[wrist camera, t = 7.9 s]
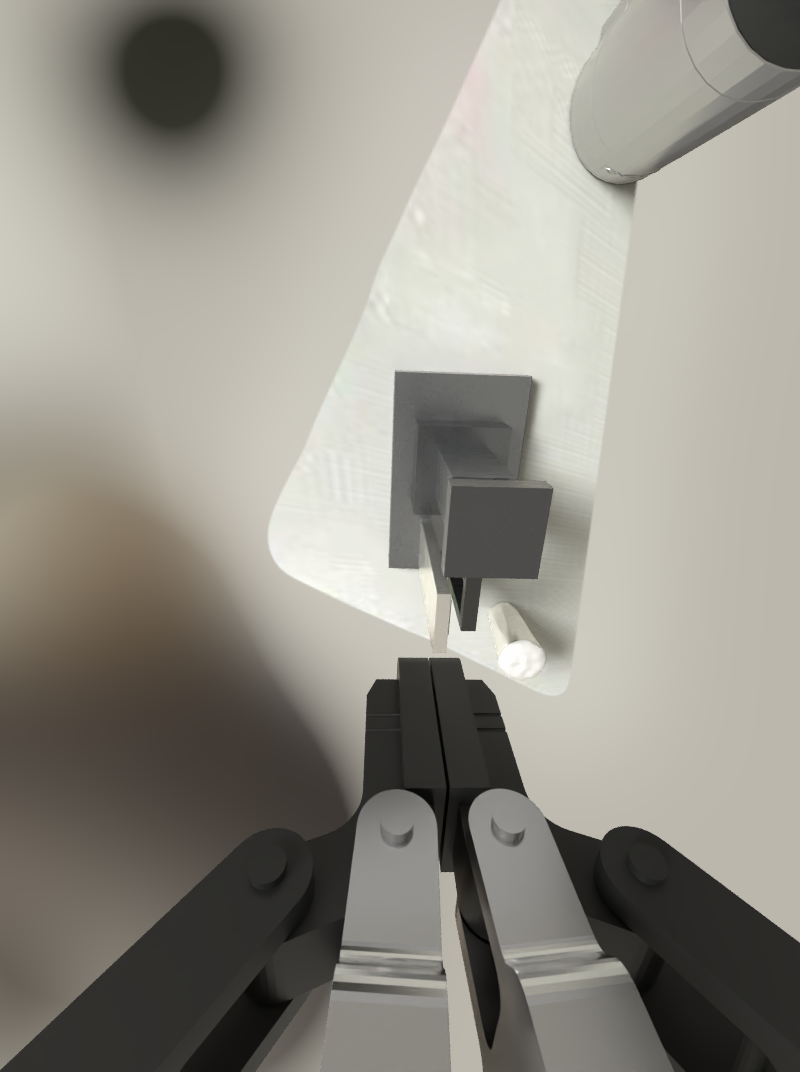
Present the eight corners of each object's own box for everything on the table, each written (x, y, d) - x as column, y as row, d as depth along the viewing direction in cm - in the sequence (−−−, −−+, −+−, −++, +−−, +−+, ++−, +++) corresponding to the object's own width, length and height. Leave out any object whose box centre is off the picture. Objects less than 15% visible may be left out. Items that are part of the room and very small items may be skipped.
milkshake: (531, 596, 51) (564, 653, 42) (513, 635, 53) (540, 697, 44) (493, 586, 51) (518, 641, 42) (476, 626, 53) (495, 687, 44)
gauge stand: (394, 370, 42) (401, 390, 27) (527, 375, 42) (604, 397, 28) (388, 561, 49) (391, 658, 34) (501, 563, 50) (551, 659, 35)
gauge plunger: (431, 443, 38) (451, 486, 27) (505, 445, 38) (553, 488, 27) (424, 560, 42) (438, 636, 31) (490, 561, 42) (527, 637, 32)
